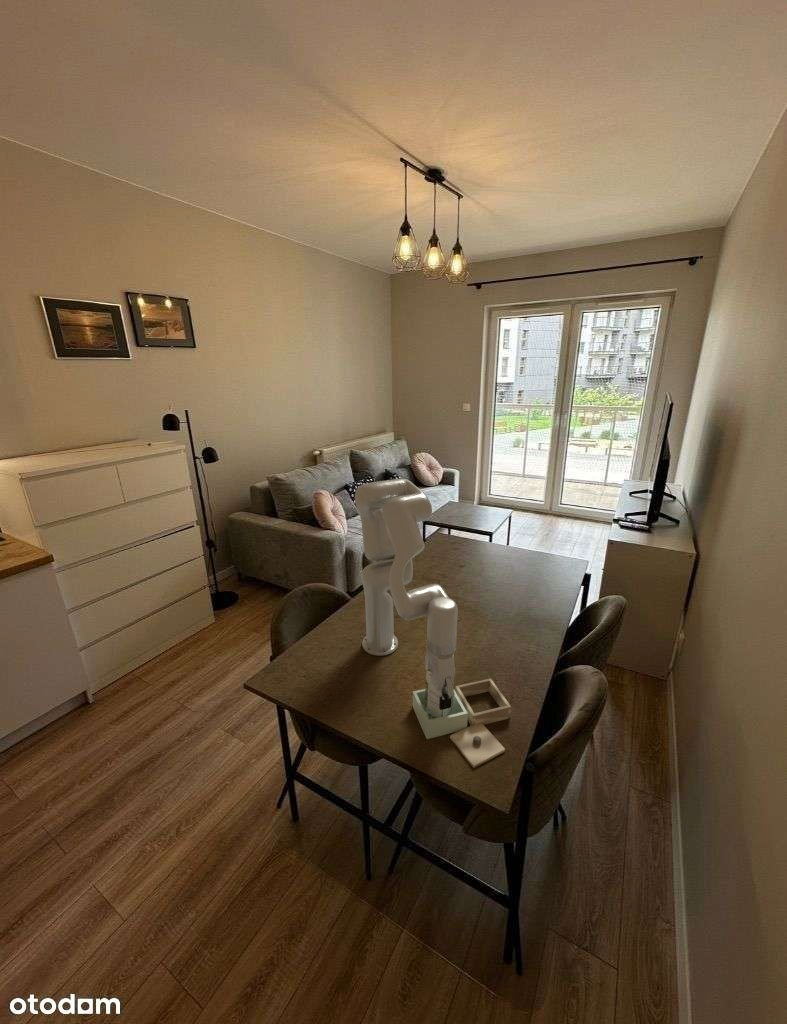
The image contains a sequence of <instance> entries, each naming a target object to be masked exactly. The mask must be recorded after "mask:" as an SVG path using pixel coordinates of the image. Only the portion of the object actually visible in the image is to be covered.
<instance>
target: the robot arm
mask: <svg viewBox="0 0 787 1024" xmlns="http://www.w3.org/2000/svg"><path fill="white" fill-rule="evenodd" d="M354 504H355V506H356V507H355V508H356V510H357V512H358V514H359V516H360V517H359V518H360V521H361V522H360V523H361V532H362V545H363V550H364V552H363V553H364V556H365V558H367V559H368V560H369V561H373V562H374V561H378V562H374V563H373V562H372V563H370V564H368V565H366V566H365V567H364V568H363V569H362V570H361V575H360V576H361V582H362V587H363V593H364V603H365V606H364V607H365V631H366V632H365V633H366V635H365V636H364V638H363V639H362V643H361V645H362V649H363V650H364V652H366V653H368V654H369V655H372V656H376V657H379V656H387V655H390V654H392V653H394V652H395V651H396V650H397V648H398V646H399V639H398V638H397V636H396V635H395V634H394V629H395V628H394V607H395V610H396V612H397V613H398V615H399V617H400V618H401V619H403V620H404V621H412V620H416V619H420V618H422V617H425V616H427V621H426V622H427V623H426V624H427V626H426V628H427V630H426V633H427V634H426V647H425V648H426V650H425V658H424V660H425V661H424V668H425V671H426V670H427V669H430V670H431V672H432V673H431V674H432V675H431V682H432V683H433V685H434V687H435V688H436V689H437V690H438V691H439V690H440V693H441V697H440V700H439V709H440V710H443V709H447V708H451V699H452V698H453V697H454V696H455V694H454V690H455V689H454V690H453V685H454V686H455V678H454V676H455V675H456V668H455V655H454V654H455V653H456V649H457V648H456V647H457V634H458V633H457V632H458V615H459V613H458V610H459V609H458V608H459V607H458V605H457V603H456V601H455V600H453V599H452V598H450V597H449V596H448V594H447V592H446V590H445V589H444V587H442V586H441V585H440V584H439V583H430V584H427V585H424V586H423V585H422V586H420V587H415V588H413V589H409V590H406V587H405V586H406V585H407V584H410V582H412V579H413V575H414V569H413V568H414V567H413V565H414V564H413V558H415V557H416V556H417V555H419V554H420V553H421V552H423V550H424V549H425V547H426V546H425V542H424V540H423V535H422V534H421V530H420V528H419V524H418V523H422V522H425V521H428V520H430V519H431V517H432V514H433V508H432V504H431V502H430V499H429V498H428V496H427V494H426V493H424V492H423V491H422V490H421V489H420V487H417V486H416V485H415V484H414V483H413V482H412V481H410V480H409V479H406V478H393V479H388V480H387V479H386V480H380V481H379V480H377V481H373V482H367V483H364V484H361V485H359V486H357V488H356V490H355V494H354ZM389 558H391V559H389ZM386 559H387V560H386ZM388 591H390V593H389V592H388ZM445 684H446V686H444V685H445ZM443 689H447V691H448V693H447V694H444V691H443Z"/></svg>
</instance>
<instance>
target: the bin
mask: <svg viewBox="0 0 787 1024" xmlns="http://www.w3.org/2000/svg"><path fill="white" fill-rule="evenodd" d="M454 694H455V696H454V697H453V704H452V709H451V711H450V712H449V713H448V714H447V715H446V716H444V717H440V718H435V717H433V716H432V715H430V714H428V713H427V712H425V711H424V708H425V688H424V689H417V690H413V691H412V708H413V710H414V713H415V715H416V718H417V720H418V722H419V725H420V727H421V729H422V732H423V734H424V736H425V738H426V739H425V740H429V739H433V738H437V737H441V736H445V735H448V734H452V733H453V734H454V733H457V732H459V731H461V730H463V729H465V728H467V727H468V719H467V718H468V713H467V711H466V709H465V707H464V706H463V704H462V702H461V701H460V699H459V697H458V695H457V694H456V692H455V689H454Z"/></svg>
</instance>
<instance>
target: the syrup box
mask: <svg viewBox="0 0 787 1024" xmlns="http://www.w3.org/2000/svg"><path fill="white" fill-rule="evenodd" d="M431 673H432V672H431V670H430V669H427V670H426V669H425V687H424V689H425V708H424V711H425V712H427V713H428V714H430V715H432V716H433V717H435V718H440V717H444V716H446V715H447V714H448V713H449V712H450V711H451V709H452V704H453V698H452V699H451V708H447V709H443V710H440V709H439V700H440V697H441V693H440V690H439V691H438V690H437V689H436V688H435V687H434V685H433V683H432V682H431V675H432V674H431ZM454 679H455V676H454ZM444 686H446V684H445V685H444ZM454 686H455V684H454V685H453V690H455V687H454ZM443 691H444V694H447V693H448V691H447V689H443Z"/></svg>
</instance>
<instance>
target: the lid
mask: <svg viewBox="0 0 787 1024" xmlns="http://www.w3.org/2000/svg"><path fill="white" fill-rule="evenodd" d="M449 739H450V740H451V742H452V743H453V744H454V745H455V747H457V749H458V750H459V752H460V753H461V754H462V756H463V757H464V758H465V760H467V762H468V763H469V764H470V766H471V767H472V768H473V769H475V768H477V767H479V766H480V765H482V764H484V763H486V762H488V761H490V760H492V759H493V758H495V757H497V756H499V755H500V754H503V753H505V752H506V748H505V747H504V746H503V745H502V743H500V742H499V740H498V739H497V738H496V737H495V736H494V735H493V734H492V733H491V732H490V730H489V729H488V728H487V727H486V726H485V725H483V724H482V723H480V724H476V725H470V726H467V728H465V729H463V730H461V731H457V732H453V734H452V733H451V735H449Z"/></svg>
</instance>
